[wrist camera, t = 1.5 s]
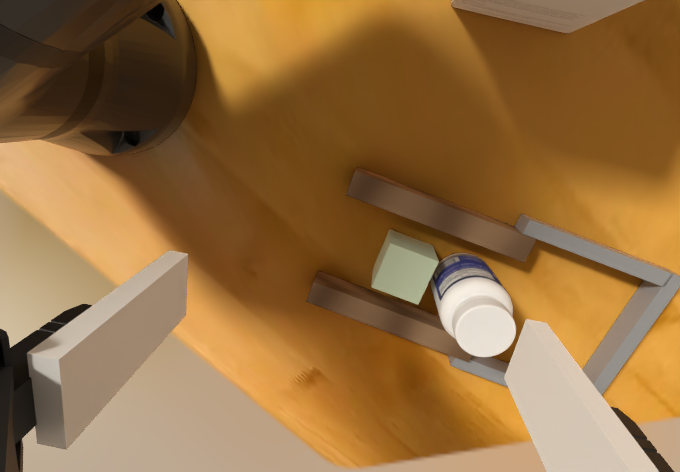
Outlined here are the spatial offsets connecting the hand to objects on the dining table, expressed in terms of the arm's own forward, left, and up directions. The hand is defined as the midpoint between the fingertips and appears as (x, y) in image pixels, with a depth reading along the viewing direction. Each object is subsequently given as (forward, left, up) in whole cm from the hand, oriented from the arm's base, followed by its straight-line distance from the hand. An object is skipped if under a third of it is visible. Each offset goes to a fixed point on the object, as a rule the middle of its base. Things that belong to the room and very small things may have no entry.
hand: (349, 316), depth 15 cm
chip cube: (+5, -3, -19) cm, 20 cm away
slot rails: (+6, -3, -19) cm, 20 cm away
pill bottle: (+10, -3, -20) cm, 22 cm away
